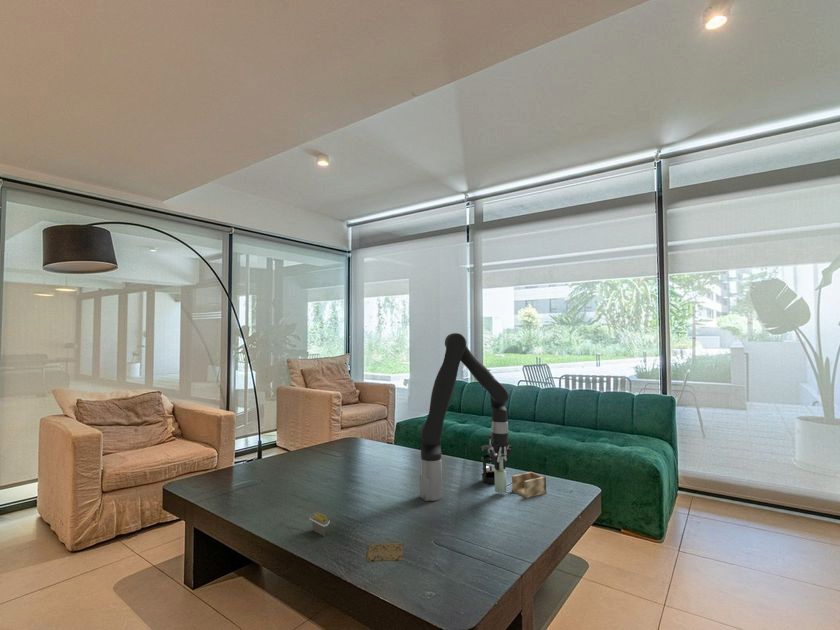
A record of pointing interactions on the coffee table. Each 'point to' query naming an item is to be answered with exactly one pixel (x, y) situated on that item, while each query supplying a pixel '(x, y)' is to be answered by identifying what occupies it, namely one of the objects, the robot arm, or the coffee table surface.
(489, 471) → the french press
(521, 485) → the u rest
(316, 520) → the plastic food container
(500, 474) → the pale green pin
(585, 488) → the coffee table surface
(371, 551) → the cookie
